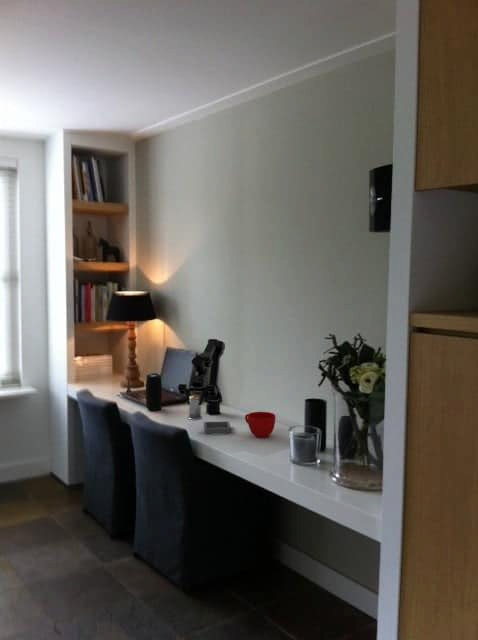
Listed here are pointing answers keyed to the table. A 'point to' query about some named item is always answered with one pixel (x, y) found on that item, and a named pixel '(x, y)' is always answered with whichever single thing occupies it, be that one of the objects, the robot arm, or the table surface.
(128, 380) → the eiffel tower figurine
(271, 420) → the ceramic cup
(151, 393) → the portable speaker
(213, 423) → the duct collar
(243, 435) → the table surface
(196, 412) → the grey cylinder
